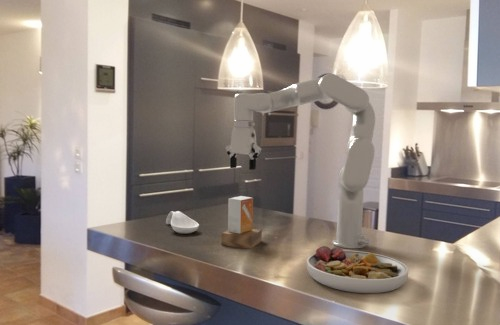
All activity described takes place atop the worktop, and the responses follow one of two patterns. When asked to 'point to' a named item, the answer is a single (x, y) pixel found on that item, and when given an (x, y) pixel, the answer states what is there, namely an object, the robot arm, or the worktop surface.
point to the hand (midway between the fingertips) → (242, 168)
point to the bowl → (356, 270)
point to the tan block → (242, 238)
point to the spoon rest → (181, 222)
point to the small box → (240, 214)
